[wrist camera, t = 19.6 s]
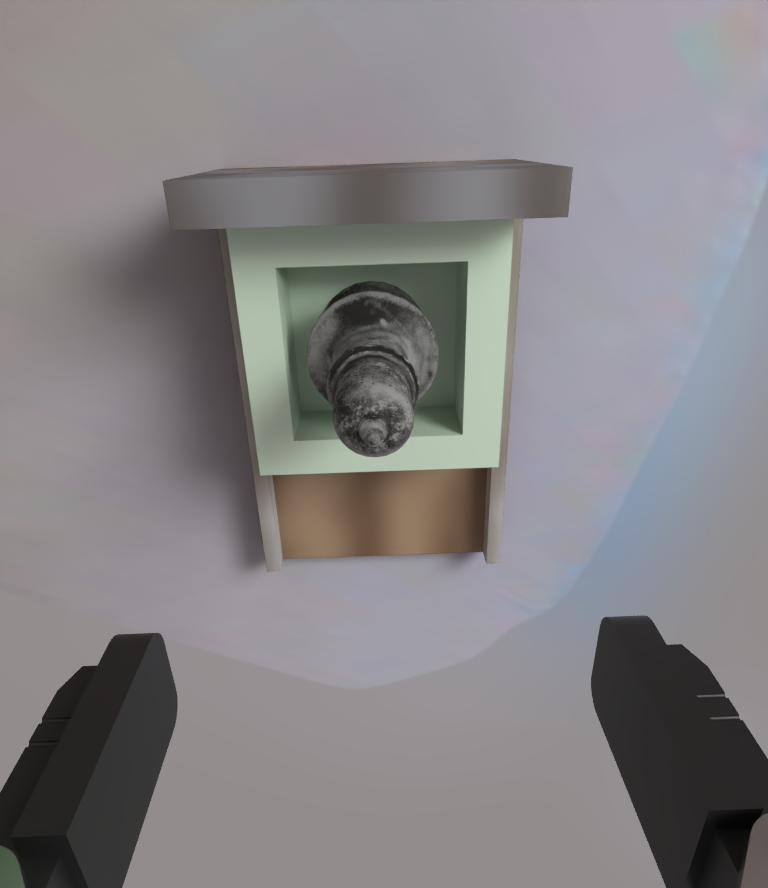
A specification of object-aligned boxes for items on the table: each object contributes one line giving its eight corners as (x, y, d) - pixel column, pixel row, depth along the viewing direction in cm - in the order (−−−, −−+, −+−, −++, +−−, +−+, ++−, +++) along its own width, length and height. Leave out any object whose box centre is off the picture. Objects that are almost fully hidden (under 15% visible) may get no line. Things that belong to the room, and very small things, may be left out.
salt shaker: (377, 412, 32) (380, 549, 21) (288, 339, 30) (243, 449, 20) (456, 330, 30) (503, 436, 19) (367, 247, 28) (365, 314, 18)
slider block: (273, 435, 34) (260, 475, 30) (245, 211, 28) (225, 223, 24) (483, 428, 34) (498, 467, 30) (494, 203, 29) (514, 213, 25)
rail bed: (272, 547, 39) (246, 657, 31) (221, 169, 29) (162, 180, 21) (492, 539, 39) (525, 647, 31) (515, 159, 29) (572, 167, 21)
